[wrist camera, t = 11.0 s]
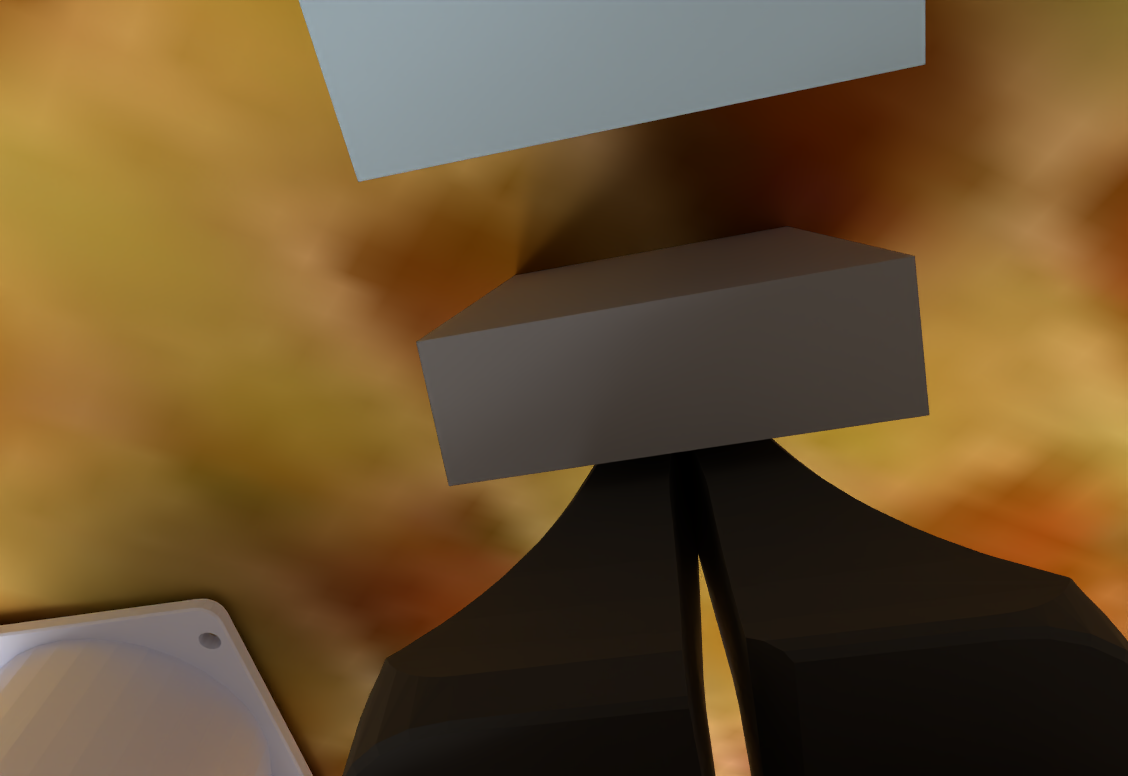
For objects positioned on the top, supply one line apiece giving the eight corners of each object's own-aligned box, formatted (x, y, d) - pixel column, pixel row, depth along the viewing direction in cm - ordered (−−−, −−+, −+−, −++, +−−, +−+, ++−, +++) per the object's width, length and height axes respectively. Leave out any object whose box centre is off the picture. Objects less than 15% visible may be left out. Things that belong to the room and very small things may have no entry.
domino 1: (770, 5, 13) (925, 63, 7) (466, 72, 14) (359, 181, 7) (761, -111, 12) (924, -159, 6) (439, -34, 13) (295, -8, 7)
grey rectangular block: (797, 314, 15) (928, 414, 8) (531, 358, 16) (448, 486, 9) (787, 226, 15) (915, 255, 8) (515, 275, 15) (416, 341, 9)
